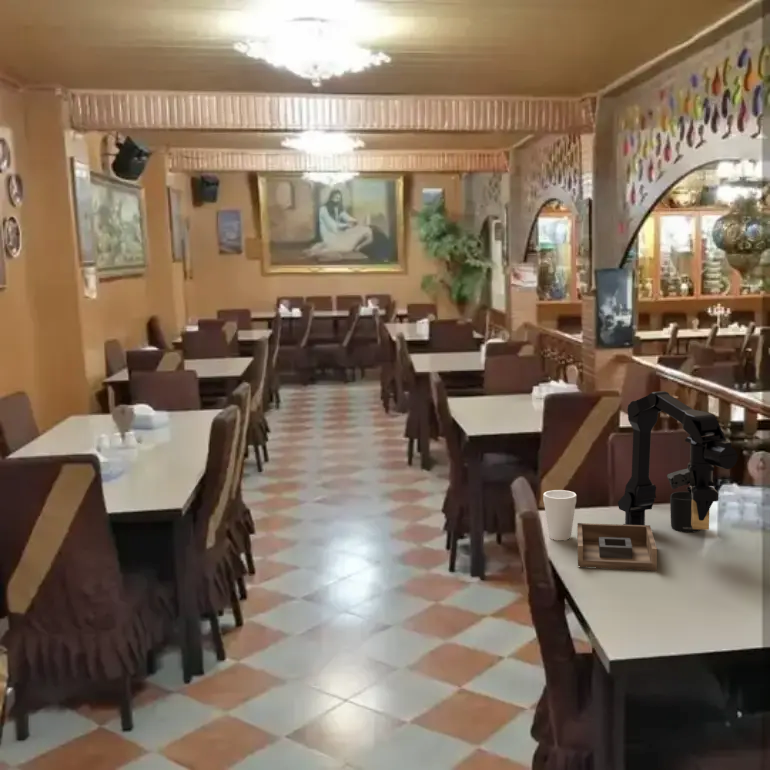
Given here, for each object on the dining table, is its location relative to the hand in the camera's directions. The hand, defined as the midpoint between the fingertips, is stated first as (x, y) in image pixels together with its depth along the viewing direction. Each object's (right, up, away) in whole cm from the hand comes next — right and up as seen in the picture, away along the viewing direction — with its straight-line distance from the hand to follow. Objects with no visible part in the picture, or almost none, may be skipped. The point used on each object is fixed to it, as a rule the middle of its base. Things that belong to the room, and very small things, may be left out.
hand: (700, 517), depth 237 cm
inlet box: (-21, -11, +5) cm, 25 cm away
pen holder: (+6, -7, +28) cm, 29 cm away
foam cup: (-33, -9, +23) cm, 41 cm away
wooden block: (0, -3, 0) cm, 3 cm away
